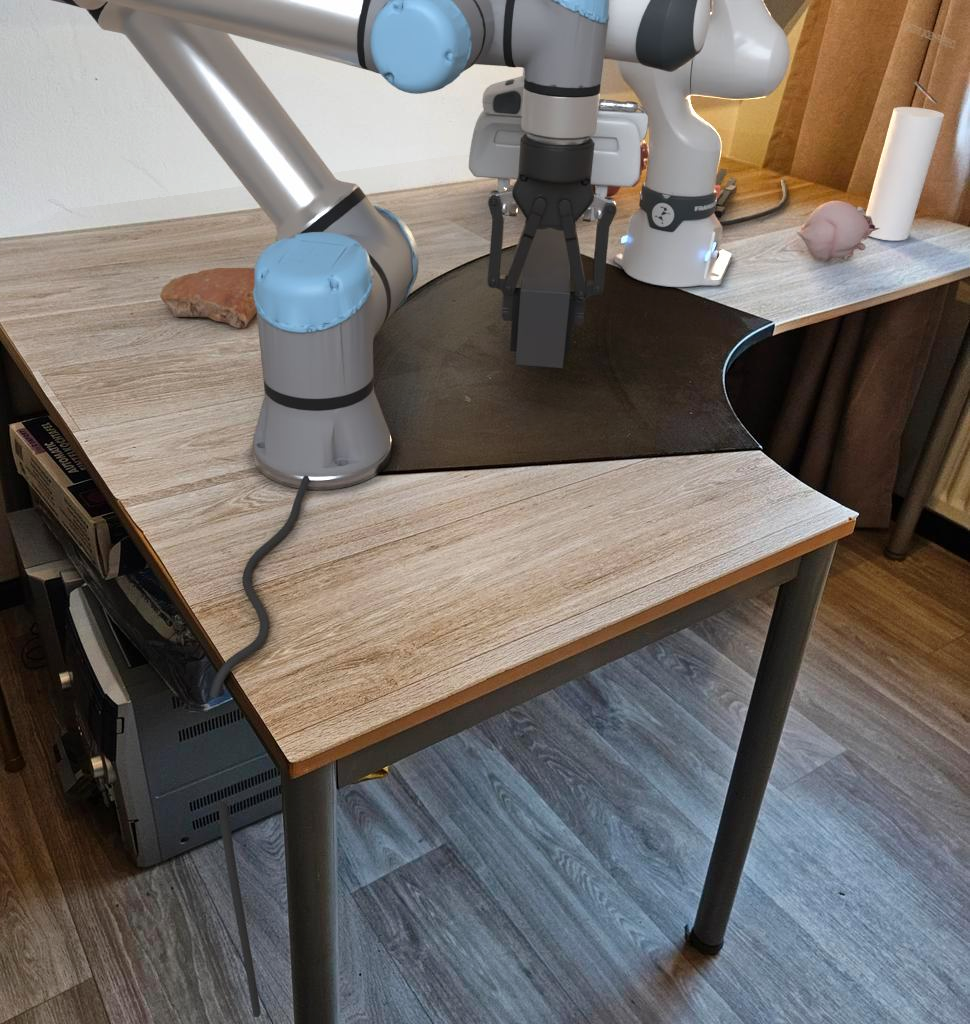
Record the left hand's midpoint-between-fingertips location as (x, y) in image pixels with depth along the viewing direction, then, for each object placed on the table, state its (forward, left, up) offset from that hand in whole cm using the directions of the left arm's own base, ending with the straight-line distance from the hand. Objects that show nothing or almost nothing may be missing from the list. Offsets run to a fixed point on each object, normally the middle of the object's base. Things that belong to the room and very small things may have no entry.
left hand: (540, 347), depth 110 cm
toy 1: (+104, -7, -10) cm, 104 cm away
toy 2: (+81, -31, -10) cm, 88 cm away
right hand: (+16, +4, +10) cm, 19 cm away
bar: (+8, +2, 0) cm, 8 cm away
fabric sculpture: (+91, +19, -10) cm, 93 cm away
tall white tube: (+100, -40, -10) cm, 108 cm away
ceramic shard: (+16, +53, -10) cm, 57 cm away
